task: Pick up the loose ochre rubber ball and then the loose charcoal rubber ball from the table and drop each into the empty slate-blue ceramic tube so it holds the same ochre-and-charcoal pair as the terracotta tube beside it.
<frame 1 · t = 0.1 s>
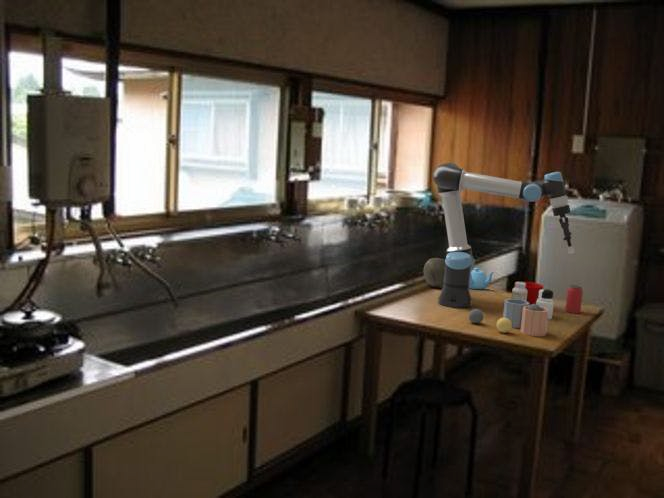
hand: (571, 251, 335), 28 cm above the table, tool tilted 20°, fingers open, 13 cm apart
ceramic cup: (525, 304, 348), on the table
ochre ball A: (533, 332, 296), resting in terracotta tube, tilted 14°, touching charcoal ball A
beer can: (572, 312, 338), on the table
grey stone sphere: (435, 287, 375), on the table
slate tube: (514, 325, 307), on the table
ochre ball: (503, 332, 294), on the table
supplement bottle: (517, 311, 334), on the table
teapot: (473, 288, 380), on the table
charcoal ball A: (535, 318, 295), point 6 cm above the table, tilted 40°, touching ochre ball A, terracotta tube
charcoal ball: (475, 323, 306), on the table
medicine bottle: (543, 317, 326), on the table
terracotta tube: (533, 332, 296), on the table
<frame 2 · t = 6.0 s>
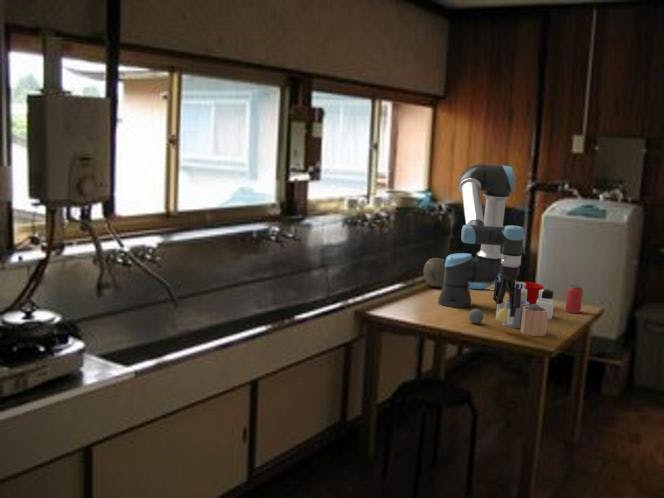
hand: (504, 321, 294), 4 cm above the table, tool pointing down, fingers closed on ochre ball, 6 cm apart
ochre ball: (504, 322, 294), point 4 cm above the table, touching gripper
everything else where it was.
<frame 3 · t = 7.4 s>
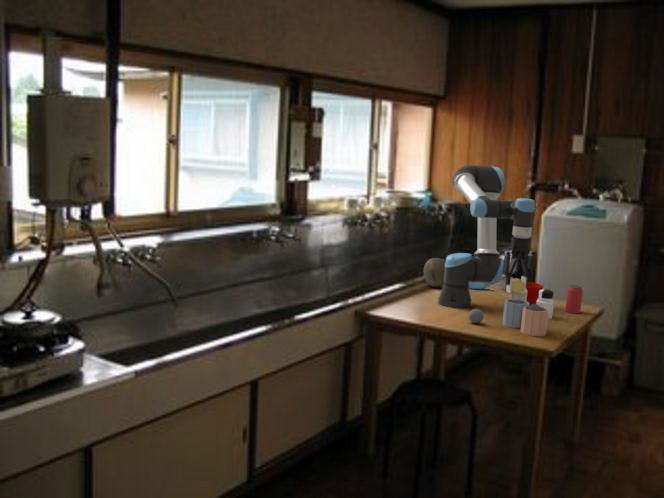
hand: (515, 292, 303), 14 cm above the table, tool pointing down, fingers closed on ochre ball, 6 cm apart
ochre ball: (515, 292, 303), point 14 cm above the table, touching gripper
everything else where it was.
when the fingers open (11 cm above the table, at t = 8.6 s): ochre ball drops 11 cm, resting in slate tube.
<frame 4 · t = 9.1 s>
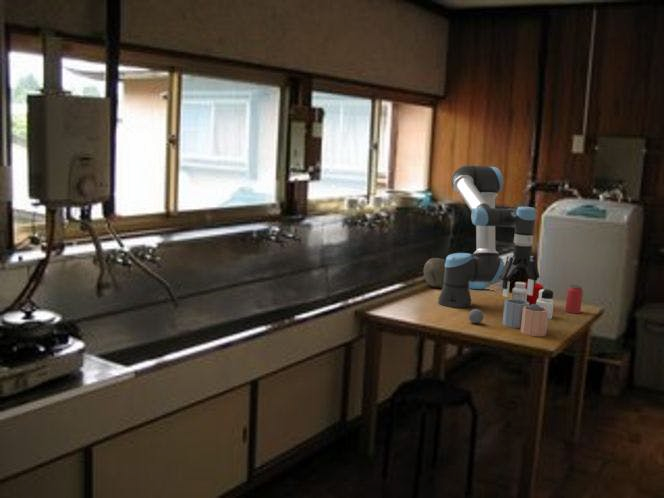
hand: (517, 295, 305), 13 cm above the table, tool pointing down, fingers open, 12 cm apart
ochre ball: (514, 325, 307), resting in slate tube
everything else where it was.
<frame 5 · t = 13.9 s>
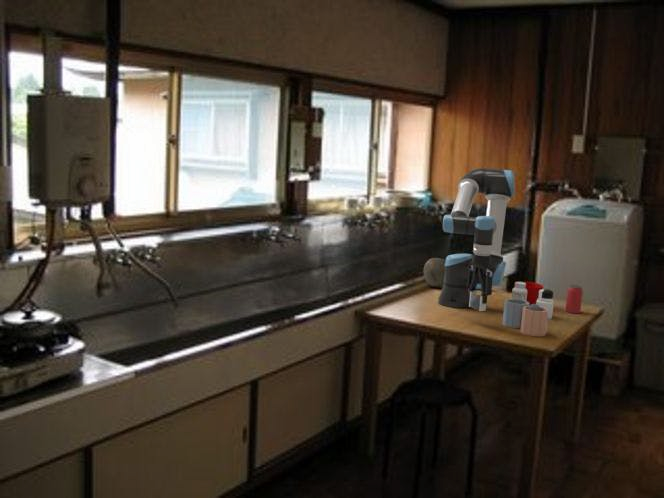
hand: (477, 308, 306), 6 cm above the table, tool pointing down, fingers closed on charcoal ball, 6 cm apart
charcoal ball: (476, 309, 306), point 6 cm above the table, touching gripper
everything else where it was.
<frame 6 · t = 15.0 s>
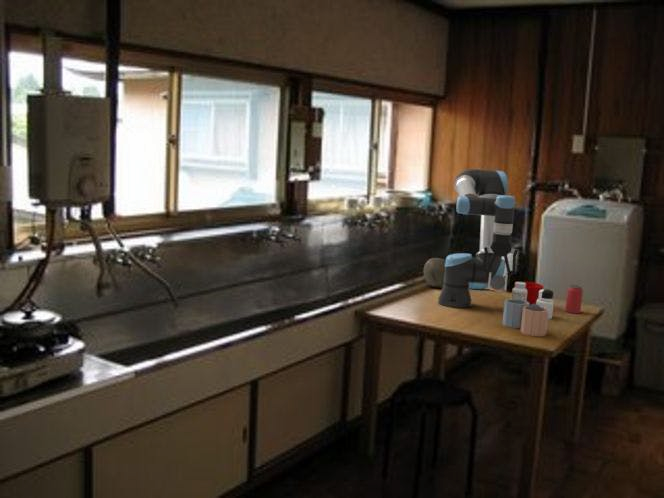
hand: (497, 288, 304), 15 cm above the table, tool pointing down, fingers closed on charcoal ball, 6 cm apart
charcoal ball: (496, 289, 304), point 15 cm above the table, touching gripper
everything else where it was.
when the fingers open (11 cm above the table, at t = 16.6 s): charcoal ball drops 4 cm and tips over, resting on ochre ball, slate tube.
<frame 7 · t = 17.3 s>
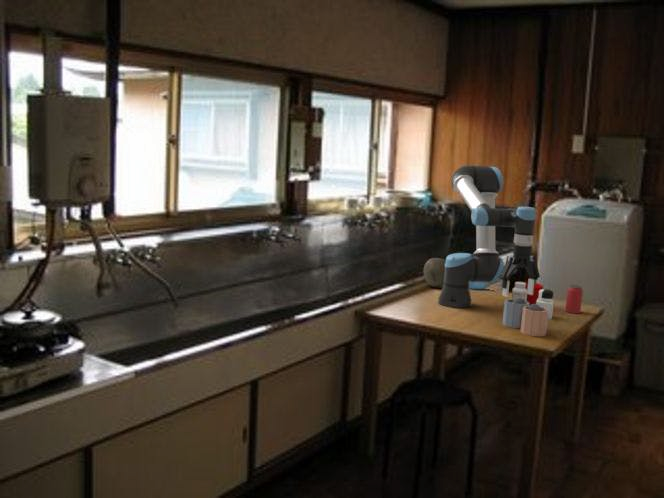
hand: (517, 295, 305), 13 cm above the table, tool pointing down, fingers open, 13 cm apart
ochre ball: (514, 324, 307), resting in slate tube, tilted 20°, touching charcoal ball
charcoal ball: (512, 308, 307), point 7 cm above the table, tilted 52°, touching ochre ball, slate tube
everything else where it was.
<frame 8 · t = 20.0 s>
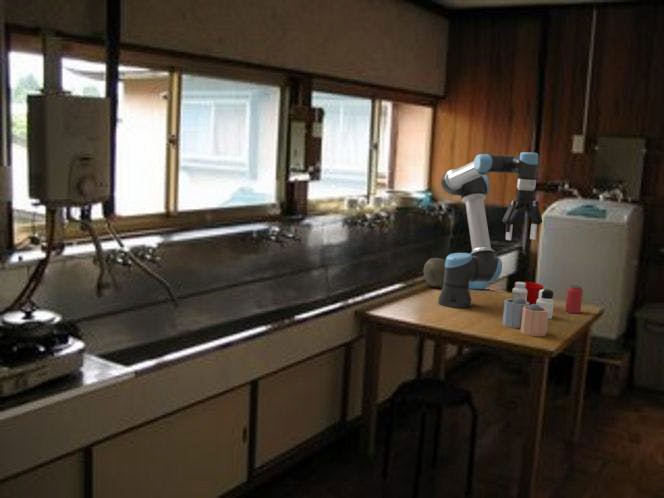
hand: (520, 239, 312), 35 cm above the table, tool pointing down, fingers open, 13 cm apart
nothing on the table moved.
at the end: ochre ball 0.0 cm from the slate tube (horizontally); charcoal ball 1.4 cm from the slate tube (horizontally); charcoal ball point 6.8 cm above the table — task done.
